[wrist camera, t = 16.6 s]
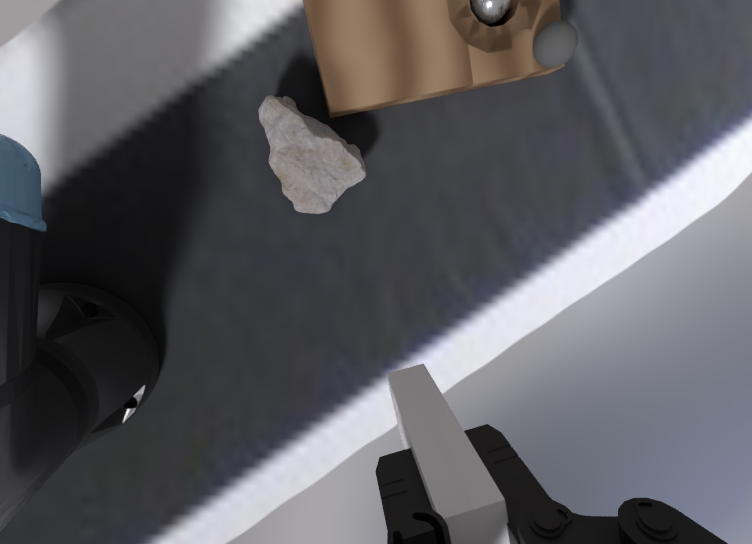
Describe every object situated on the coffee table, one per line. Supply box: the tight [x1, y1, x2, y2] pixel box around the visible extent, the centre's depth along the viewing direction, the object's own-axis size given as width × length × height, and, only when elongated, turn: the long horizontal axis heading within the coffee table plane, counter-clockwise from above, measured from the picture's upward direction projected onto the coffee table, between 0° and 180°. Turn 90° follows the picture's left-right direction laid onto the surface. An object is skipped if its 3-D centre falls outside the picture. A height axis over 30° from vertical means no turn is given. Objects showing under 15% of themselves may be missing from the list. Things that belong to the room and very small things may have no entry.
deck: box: [303, 0, 565, 118], centre depth 33 cm, size 22×13×2 cm, turn 102°
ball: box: [470, 0, 511, 24], centre depth 33 cm, size 4×4×4 cm
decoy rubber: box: [533, 20, 578, 68], centre depth 32 cm, size 4×4×4 cm
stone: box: [258, 95, 366, 214], centre depth 33 cm, size 10×8×6 cm
